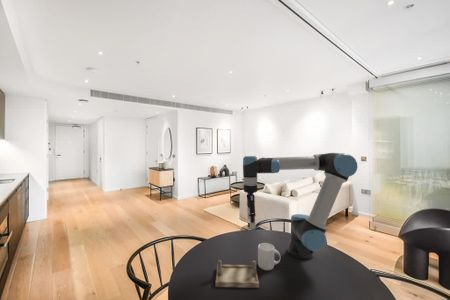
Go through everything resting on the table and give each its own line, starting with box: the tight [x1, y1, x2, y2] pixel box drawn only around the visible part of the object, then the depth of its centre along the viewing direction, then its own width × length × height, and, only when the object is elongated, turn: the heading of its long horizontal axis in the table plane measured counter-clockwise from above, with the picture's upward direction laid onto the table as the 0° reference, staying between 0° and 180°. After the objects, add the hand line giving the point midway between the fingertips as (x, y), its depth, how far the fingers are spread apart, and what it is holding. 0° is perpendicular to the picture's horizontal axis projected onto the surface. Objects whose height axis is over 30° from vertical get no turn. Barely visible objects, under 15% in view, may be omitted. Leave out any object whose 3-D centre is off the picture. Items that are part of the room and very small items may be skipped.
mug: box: [257, 242, 282, 271], centre depth 111 cm, size 9×12×11 cm
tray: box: [215, 259, 260, 289], centre depth 101 cm, size 20×14×8 cm
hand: (251, 223), depth 112 cm, fingers open, 13 cm apart
